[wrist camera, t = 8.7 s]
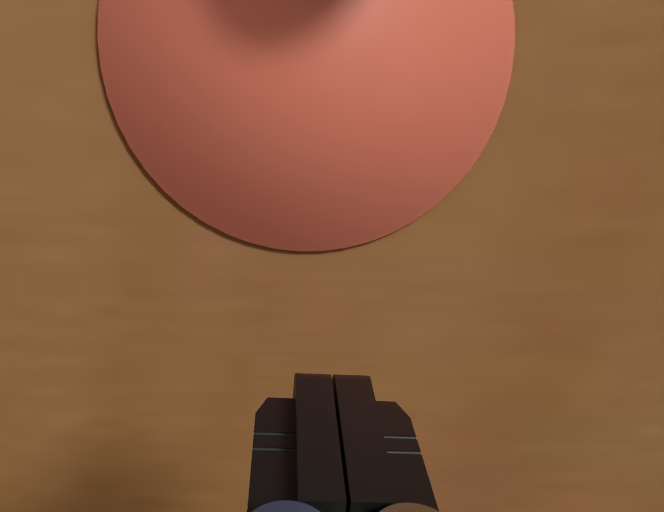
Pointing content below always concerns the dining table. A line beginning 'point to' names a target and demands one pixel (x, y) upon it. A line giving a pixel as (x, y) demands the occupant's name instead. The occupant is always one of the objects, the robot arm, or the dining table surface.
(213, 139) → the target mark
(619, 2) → the dining table surface
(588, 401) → the dining table surface
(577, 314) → the dining table surface
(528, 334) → the dining table surface
